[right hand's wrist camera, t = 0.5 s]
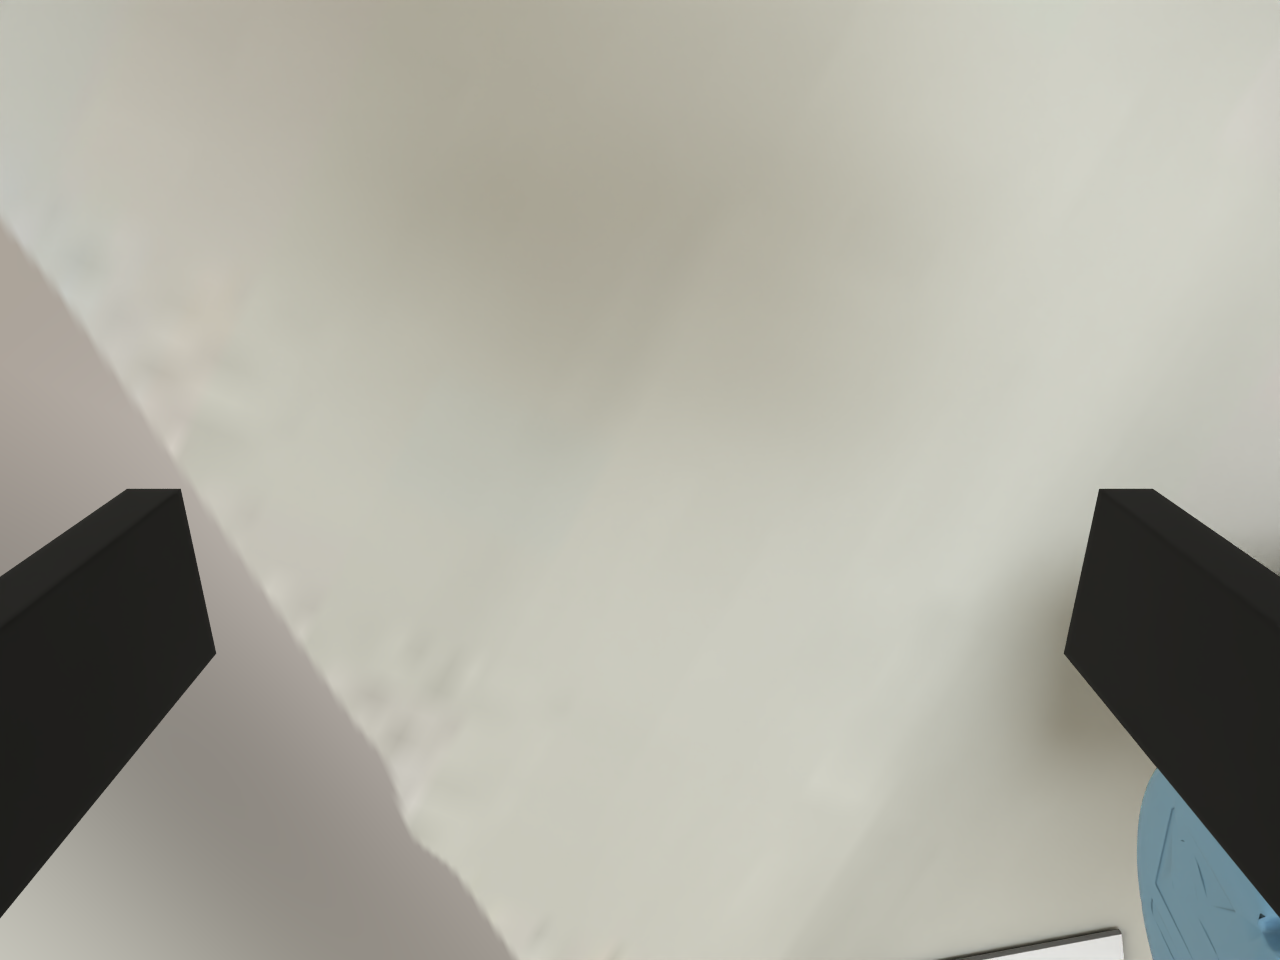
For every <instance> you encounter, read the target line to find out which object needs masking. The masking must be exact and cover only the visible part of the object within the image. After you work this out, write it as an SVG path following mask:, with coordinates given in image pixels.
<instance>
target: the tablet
mask: <svg viewBox="0 0 1280 960" xmlns="http://www.w3.org/2000/svg"><path fill="white" fill-rule="evenodd" d="M955 960H1124V956H1123V943H1122V934H1121V932H1120V930H1119V929H1116V930H1111V931H1105V932H1100V933H1095V934H1089V935H1084V936H1078V937H1073V938H1068V939H1062V940H1057V941H1052V942H1046V943H1041V944H1036V945H1030V946H1025V947H1020V948H1014V949H1009V950H1003V951H998V952H993V953H987V954H982V955H977V956H971V957H966V958H961V959H955Z"/></svg>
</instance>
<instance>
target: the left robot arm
mask: <svg viewBox="0 0 1280 960" xmlns="http://www.w3.org/2000/svg"><path fill="white" fill-rule="evenodd" d="M1137 868H1138V881H1139V890H1140V897H1141V901H1142V911H1143V917H1144V923H1145V928H1146V933H1147V937H1148V942H1149V946H1150V950H1151V953H1152V957H1153V960H1280V918H1279V917H1278V915H1277V914H1276V913H1275V912H1274V910H1273V909H1272V908H1271V907H1270V906H1269V904H1268V903H1267V902H1266V901H1265V899H1264V898H1263V897H1262V896H1261V895H1260V893H1259V892H1258V891H1257V890H1256V888H1255V887H1254V886H1253V885H1252V883H1251V882H1250V881H1249V880H1248V879H1247V877H1246V876H1245V875H1244V874H1243V872H1242V871H1241V870H1240V869H1239V868H1238V866H1237V865H1236V864H1235V863H1234V861H1233V860H1232V859H1231V858H1230V857H1229V855H1228V854H1227V853H1226V852H1225V850H1224V849H1223V848H1222V847H1221V845H1220V844H1219V843H1218V842H1217V841H1216V839H1215V838H1214V837H1213V836H1212V834H1211V833H1210V832H1209V831H1208V830H1207V828H1206V827H1205V826H1204V825H1203V823H1202V822H1201V821H1200V820H1199V818H1198V817H1197V816H1196V815H1195V814H1194V812H1193V811H1192V810H1191V809H1190V807H1189V806H1188V805H1187V804H1186V803H1185V801H1184V800H1183V799H1182V798H1181V796H1180V795H1179V794H1178V793H1177V792H1176V790H1175V789H1174V788H1173V787H1172V785H1171V784H1170V783H1169V782H1168V780H1167V779H1166V778H1165V777H1164V776H1163V774H1162V773H1161V772H1160V771H1159V769H1158V768H1156V770H1155V771H1154V773H1153V775H1152V776H1151V779H1150V781H1149V783H1148V785H1147V788H1146V791H1145V794H1144V797H1143V801H1142V805H1141V810H1140V816H1139V824H1138V837H1137Z"/></svg>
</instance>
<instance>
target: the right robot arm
mask: <svg viewBox="0 0 1280 960" xmlns="http://www.w3.org/2000/svg"><path fill="white" fill-rule="evenodd" d="M215 654H216V651H215V646H214V641H213V637H212V632H211V627H210V623H209V618H208V614H207V609H206V604H205V600H204V595H203V590H202V585H201V581H200V576H199V572H198V567H197V563H196V558H195V553H194V548H193V544H192V539H191V534H190V530H189V525H188V520H187V516H186V511H185V506H184V502H183V497H182V493H181V489H126V490H125V491H123V492H122V493H121V494H119V495H118V496H116V497H115V498H113V499H112V500H110V501H109V502H108V503H106V504H105V505H103V506H102V507H100V508H99V509H97V510H96V511H95V512H93V513H92V514H90V515H89V516H87V517H86V518H84V519H83V520H82V521H80V522H79V523H77V524H76V525H74V526H73V527H71V528H70V529H69V530H67V531H66V532H64V533H63V534H61V535H60V536H58V537H57V538H55V539H54V540H53V541H51V542H50V543H48V544H47V545H45V546H44V547H43V548H41V549H40V550H38V551H37V552H35V553H34V554H32V555H31V556H30V557H28V558H27V559H25V560H24V561H22V562H21V563H19V564H18V565H16V566H15V567H14V568H12V569H11V570H9V571H8V572H6V573H5V574H4V575H2V576H1V577H0V918H1V917H2V915H3V914H4V913H5V912H6V910H7V909H8V908H9V907H10V906H11V904H12V903H13V902H14V901H15V899H16V898H17V897H18V896H19V894H20V893H21V892H22V891H23V890H24V888H25V887H26V886H27V885H28V883H29V882H30V881H31V880H32V878H33V877H34V876H35V875H36V874H37V872H38V871H39V870H40V869H41V868H42V866H43V865H44V864H45V863H46V861H47V860H48V859H49V858H50V856H51V855H52V854H53V853H54V852H55V850H56V849H57V848H58V847H59V845H60V844H61V843H62V842H63V841H64V839H65V838H66V837H67V836H68V834H69V833H70V832H71V831H72V830H73V828H74V827H75V826H76V825H77V823H78V822H79V821H80V820H81V818H82V817H83V816H84V815H85V814H86V812H87V811H88V810H89V809H90V807H91V806H92V805H93V804H94V802H95V801H96V800H97V799H98V798H99V796H100V795H101V794H102V793H103V792H104V790H105V789H106V788H107V787H108V785H109V784H110V783H111V782H112V780H113V779H114V778H115V777H116V776H117V774H118V773H119V772H120V771H121V769H122V768H123V767H124V766H125V765H126V763H127V762H128V761H129V760H130V758H131V757H132V756H133V755H134V754H135V752H136V751H137V750H138V749H139V747H140V746H141V745H142V744H143V742H144V741H145V740H146V739H147V738H148V736H149V735H150V734H151V733H152V731H153V730H154V729H155V728H156V727H157V725H158V724H159V723H160V722H161V720H162V719H163V718H164V717H165V715H166V714H167V713H168V712H169V711H170V709H171V708H172V707H173V706H174V704H175V703H176V702H177V701H178V700H179V698H180V697H181V696H182V695H183V693H184V692H185V691H186V690H187V689H188V687H189V686H190V685H191V684H192V682H193V681H194V680H195V679H196V678H197V676H198V675H199V674H200V673H201V671H202V670H203V669H204V668H205V666H206V665H207V664H208V663H209V662H210V660H211V659H212V658H213V657H214V655H215ZM1064 654H1065V655H1066V657H1067V658H1068V659H1069V660H1070V662H1071V663H1072V664H1073V665H1074V666H1075V668H1076V669H1077V670H1078V671H1079V673H1080V674H1081V675H1082V676H1083V678H1084V679H1085V680H1086V681H1087V682H1088V684H1089V685H1090V686H1091V687H1092V689H1093V690H1094V691H1095V692H1096V693H1097V695H1098V696H1099V697H1100V698H1101V700H1102V701H1103V702H1104V703H1105V704H1106V706H1107V707H1108V708H1109V709H1110V711H1111V712H1112V713H1113V714H1114V716H1115V717H1116V718H1117V719H1118V720H1119V722H1120V723H1121V724H1122V725H1123V727H1124V728H1125V729H1126V730H1127V731H1128V733H1129V734H1130V735H1131V736H1132V738H1133V739H1134V740H1135V741H1136V742H1137V744H1138V745H1139V746H1140V747H1141V749H1142V750H1143V751H1144V752H1145V754H1146V755H1147V756H1148V757H1149V758H1150V760H1151V761H1152V762H1153V763H1154V765H1155V766H1156V767H1157V768H1158V769H1159V771H1160V772H1161V773H1162V774H1163V776H1164V777H1165V778H1166V779H1167V780H1168V782H1169V783H1170V784H1171V785H1172V787H1173V788H1174V789H1175V790H1176V792H1177V793H1178V794H1179V795H1180V796H1181V798H1182V799H1183V800H1184V801H1185V803H1186V804H1187V805H1188V806H1189V807H1190V809H1191V810H1192V811H1193V812H1194V814H1195V815H1196V816H1197V817H1198V818H1199V820H1200V821H1201V822H1202V823H1203V825H1204V826H1205V827H1206V828H1207V830H1208V831H1209V832H1210V833H1211V834H1212V836H1213V837H1214V838H1215V839H1216V841H1217V842H1218V843H1219V844H1220V845H1221V847H1222V848H1223V849H1224V850H1225V852H1226V853H1227V854H1228V855H1229V857H1230V858H1231V859H1232V860H1233V861H1234V863H1235V864H1236V865H1237V866H1238V868H1239V869H1240V870H1241V871H1242V872H1243V874H1244V875H1245V876H1246V877H1247V879H1248V880H1249V881H1250V882H1251V883H1252V885H1253V886H1254V887H1255V888H1256V890H1257V891H1258V892H1259V893H1260V895H1261V896H1262V897H1263V898H1264V899H1265V901H1266V902H1267V903H1268V904H1269V906H1270V907H1271V908H1272V909H1273V910H1274V912H1275V913H1276V914H1277V915H1278V917H1279V918H1280V577H1279V576H1278V575H1277V574H1275V573H1274V572H1272V571H1271V570H1269V569H1268V568H1266V567H1265V566H1263V565H1262V564H1261V563H1259V562H1258V561H1256V560H1255V559H1253V558H1252V557H1250V556H1249V555H1248V554H1246V553H1245V552H1243V551H1242V550H1240V549H1239V548H1237V547H1236V546H1235V545H1233V544H1232V543H1230V542H1229V541H1227V540H1226V539H1224V538H1223V537H1222V536H1220V535H1219V534H1217V533H1216V532H1214V531H1213V530H1211V529H1210V528H1209V527H1207V526H1206V525H1204V524H1203V523H1201V522H1200V521H1198V520H1197V519H1196V518H1194V517H1193V516H1191V515H1190V514H1188V513H1187V512H1185V511H1184V510H1183V509H1181V508H1180V507H1178V506H1177V505H1175V504H1174V503H1172V502H1171V501H1170V500H1168V499H1167V498H1165V497H1164V496H1162V495H1161V494H1159V493H1158V492H1157V491H1155V490H1154V489H1099V493H1098V497H1097V502H1096V506H1095V511H1094V516H1093V520H1092V525H1091V530H1090V534H1089V539H1088V544H1087V548H1086V553H1085V558H1084V562H1083V567H1082V572H1081V576H1080V581H1079V585H1078V590H1077V595H1076V599H1075V604H1074V609H1073V613H1072V618H1071V623H1070V627H1069V632H1068V637H1067V641H1066V646H1065V651H1064Z"/></svg>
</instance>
